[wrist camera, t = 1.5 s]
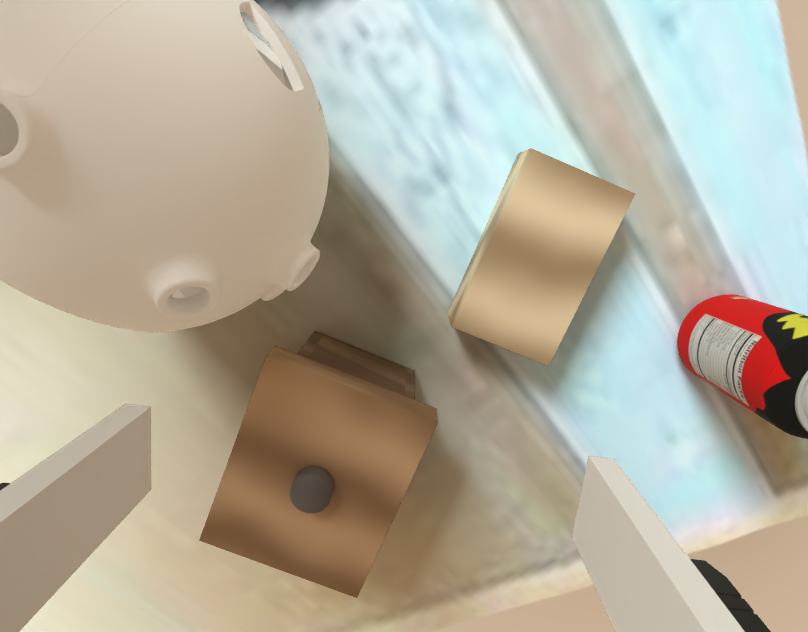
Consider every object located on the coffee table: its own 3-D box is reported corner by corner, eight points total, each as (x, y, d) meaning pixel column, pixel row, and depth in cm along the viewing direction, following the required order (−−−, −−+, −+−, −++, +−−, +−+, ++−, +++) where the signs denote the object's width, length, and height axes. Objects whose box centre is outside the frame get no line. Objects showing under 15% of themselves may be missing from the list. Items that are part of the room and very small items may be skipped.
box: (357, 502, 41) (345, 562, 34) (263, 466, 41) (232, 520, 34) (414, 370, 38) (414, 408, 32) (315, 331, 38) (292, 360, 31)
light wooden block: (534, 348, 38) (548, 366, 34) (447, 313, 37) (451, 326, 33) (611, 193, 35) (635, 193, 31) (518, 153, 35) (531, 148, 31)
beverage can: (730, 387, 38) (869, 472, 26) (654, 356, 38) (761, 429, 26) (775, 311, 37) (943, 364, 25) (697, 278, 36) (830, 317, 25)
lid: (360, 575, 34) (354, 612, 31) (211, 520, 34) (191, 553, 31) (436, 408, 32) (438, 432, 28) (276, 345, 31) (260, 362, 28)
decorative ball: (414, 143, 35) (412, 77, 16) (277, 340, 38) (139, 483, 19) (160, -52, 32) (-206, -406, 13) (38, 176, 36) (-392, 153, 17)
